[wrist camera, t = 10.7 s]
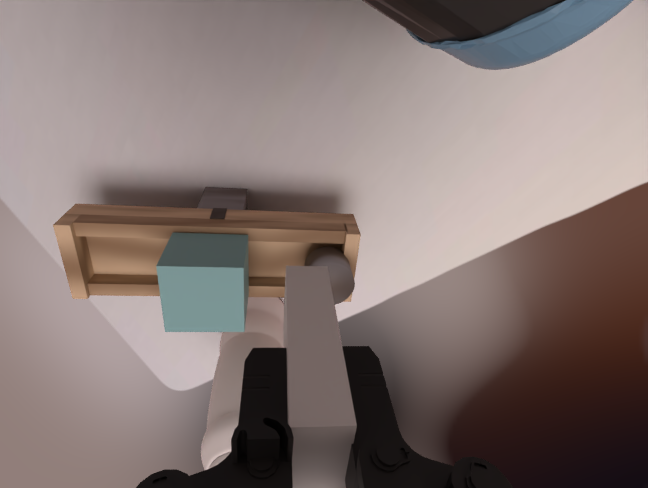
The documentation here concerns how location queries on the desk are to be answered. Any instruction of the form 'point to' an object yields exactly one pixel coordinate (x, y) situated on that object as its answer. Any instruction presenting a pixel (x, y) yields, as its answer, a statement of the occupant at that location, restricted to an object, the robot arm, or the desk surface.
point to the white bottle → (238, 374)
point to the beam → (210, 218)
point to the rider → (204, 282)
